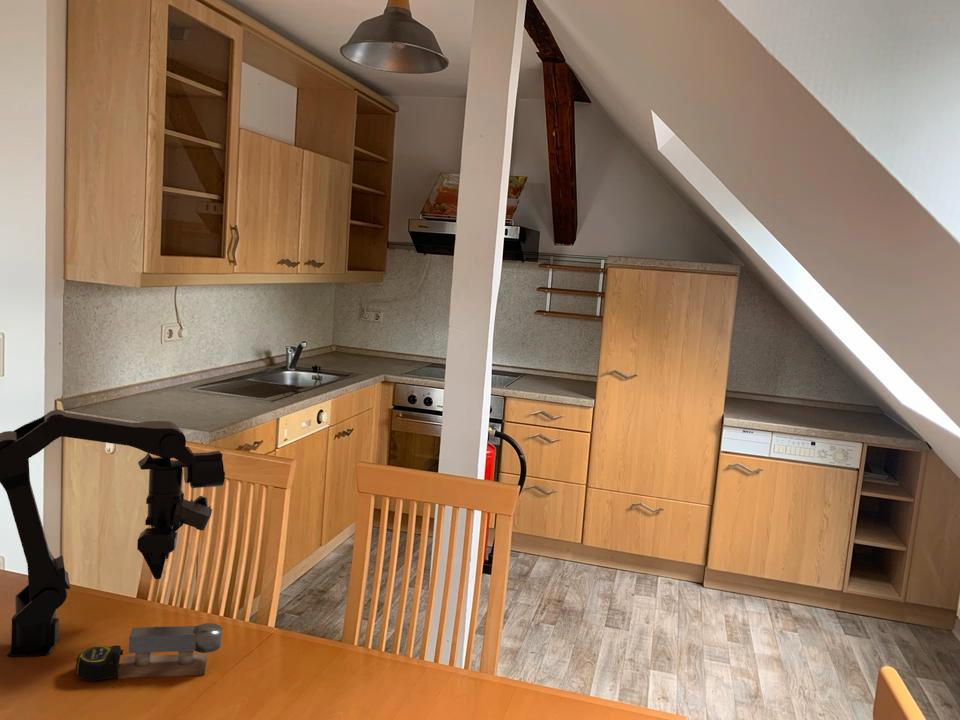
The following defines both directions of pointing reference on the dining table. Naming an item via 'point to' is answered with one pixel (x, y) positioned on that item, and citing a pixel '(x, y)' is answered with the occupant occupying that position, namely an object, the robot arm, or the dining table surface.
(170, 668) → the peg stand
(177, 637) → the grey bar with knob
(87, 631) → the dining table surface
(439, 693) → the dining table surface
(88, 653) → the tape measure
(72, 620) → the dining table surface
